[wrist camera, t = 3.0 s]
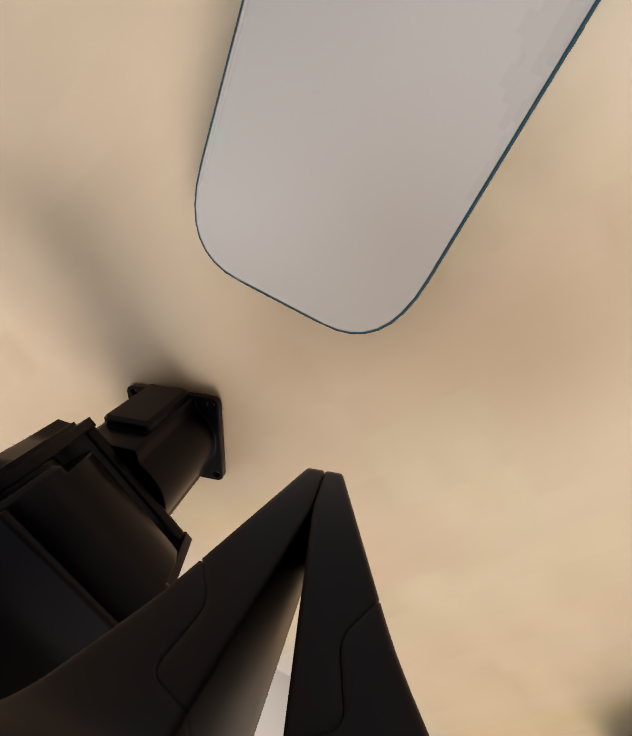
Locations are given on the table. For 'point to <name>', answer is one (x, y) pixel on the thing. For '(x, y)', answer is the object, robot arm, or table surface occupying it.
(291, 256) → the external hard drive
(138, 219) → the table surface
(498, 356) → the table surface
